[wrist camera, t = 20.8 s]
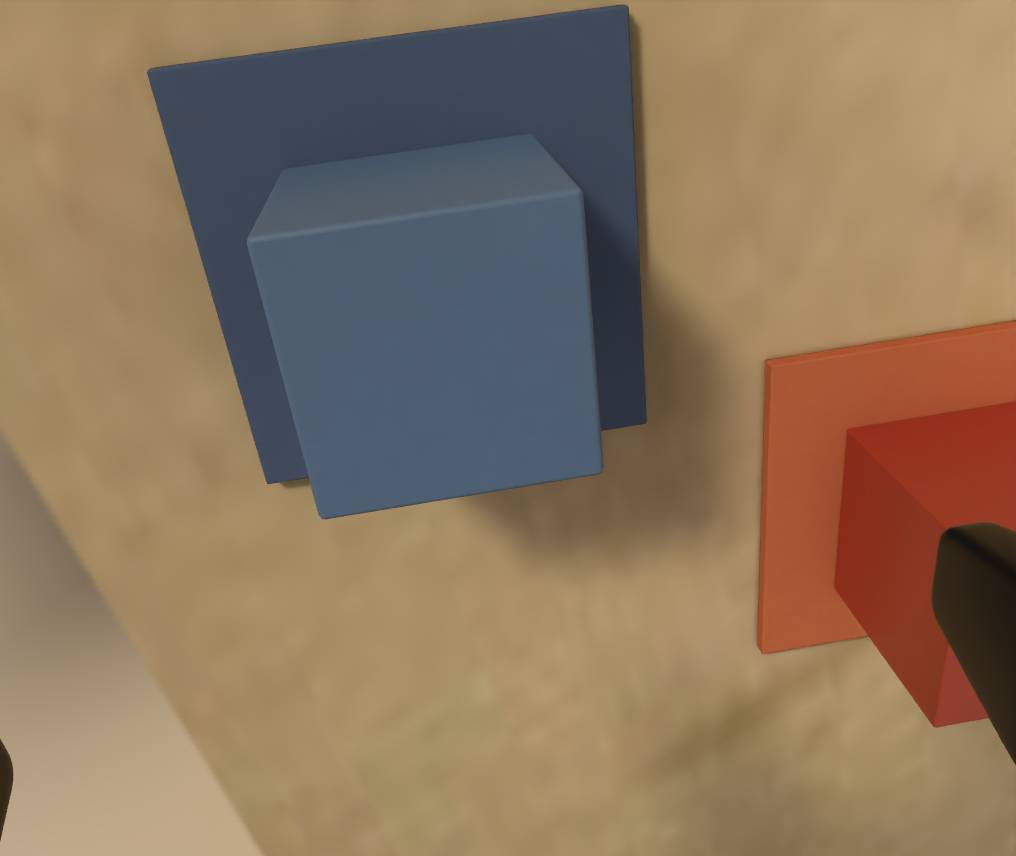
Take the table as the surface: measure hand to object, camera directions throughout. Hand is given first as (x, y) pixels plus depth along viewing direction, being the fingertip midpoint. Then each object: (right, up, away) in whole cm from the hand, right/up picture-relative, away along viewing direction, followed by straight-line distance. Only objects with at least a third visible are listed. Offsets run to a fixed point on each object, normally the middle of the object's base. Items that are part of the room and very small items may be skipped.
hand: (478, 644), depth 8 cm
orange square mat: (+11, 0, +15) cm, 19 cm away
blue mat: (-1, +5, +11) cm, 12 cm away
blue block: (-1, +5, +10) cm, 12 cm away
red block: (+11, 0, +15) cm, 18 cm away
